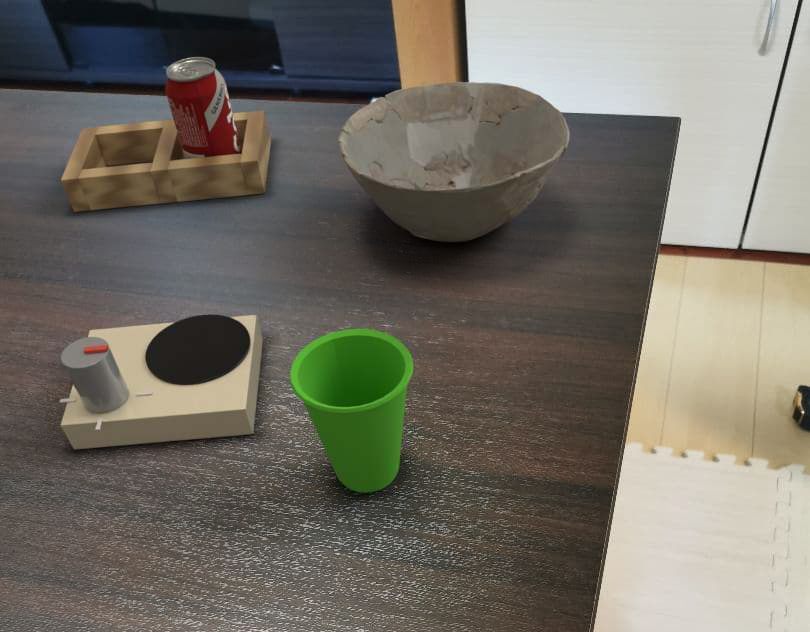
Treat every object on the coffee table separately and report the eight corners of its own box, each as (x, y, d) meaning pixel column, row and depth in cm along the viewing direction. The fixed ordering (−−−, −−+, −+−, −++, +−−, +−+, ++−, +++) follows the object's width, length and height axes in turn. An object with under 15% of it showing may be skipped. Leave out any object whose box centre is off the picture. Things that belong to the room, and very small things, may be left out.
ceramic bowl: (571, 276, 84) (579, 181, 76) (342, 287, 86) (327, 196, 78) (554, 163, 97) (559, 72, 89) (357, 175, 99) (346, 87, 91)
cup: (336, 527, 66) (313, 426, 57) (299, 454, 71) (273, 351, 63) (440, 488, 68) (433, 383, 59) (396, 419, 73) (383, 314, 64)
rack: (74, 212, 99) (60, 179, 96) (94, 159, 107) (82, 128, 104) (264, 193, 98) (257, 160, 95) (271, 142, 106) (264, 109, 103)
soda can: (209, 192, 99) (180, 87, 90) (180, 173, 103) (148, 70, 94) (256, 169, 102) (232, 65, 93) (225, 152, 105) (199, 49, 96)
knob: (79, 415, 72) (54, 367, 68) (88, 384, 74) (64, 335, 70) (125, 411, 72) (102, 362, 68) (132, 380, 74) (111, 331, 70)
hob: (64, 459, 73) (49, 433, 71) (95, 355, 82) (82, 328, 79) (252, 443, 73) (244, 416, 70) (263, 339, 81) (256, 312, 79)
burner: (138, 389, 74) (137, 387, 73) (154, 321, 80) (153, 319, 79) (246, 380, 73) (245, 377, 73) (254, 312, 79) (253, 309, 79)
